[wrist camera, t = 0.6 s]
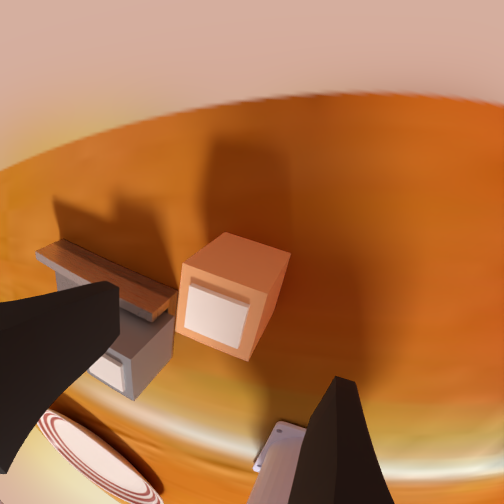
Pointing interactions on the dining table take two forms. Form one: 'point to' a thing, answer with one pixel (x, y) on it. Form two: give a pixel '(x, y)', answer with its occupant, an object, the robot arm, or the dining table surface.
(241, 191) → the dining table surface
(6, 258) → the dining table surface
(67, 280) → the rail
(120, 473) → the dinner plate
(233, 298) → the block
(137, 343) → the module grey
